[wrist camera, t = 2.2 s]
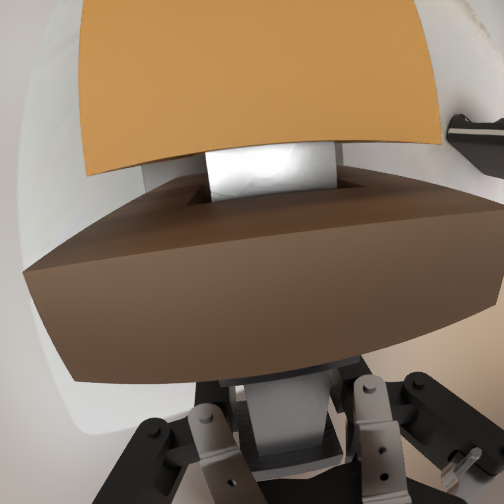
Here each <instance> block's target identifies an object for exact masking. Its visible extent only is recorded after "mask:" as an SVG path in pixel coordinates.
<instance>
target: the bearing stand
mask: <svg viewBox="0 0 504 504" xmlns="http://www.w3.org/2000/svg"><path fill="white" fill-rule="evenodd" d="M335 157H336V171H337V189H328V190H316V191H305V192H295V193H285V194H275V195H266V196H258V197H249V198H241V199H234V200H226V201H219V202H212V197H211V190H210V183H209V175H208V168H207V160H206V155H201V156H194V157H188V158H182V159H177V160H171V161H166V162H159V163H153V164H147V165H141V167H142V173H143V180H144V186H145V192H146V193H145V194H143V195H142V196H140V197H138V198H136V199H134V200H132V201H131V202H129V203H127V204H125V205H124V206H122V207H120V208H118V209H117V210H115V211H113V212H111V213H110V214H108V215H106V216H105V217H103V218H101V219H100V220H98V221H97V222H95V223H93V224H92V225H90V226H88V227H87V228H85V229H84V230H82V231H81V232H79V233H77V234H76V235H74V236H73V237H71V238H70V239H68V240H67V241H65V242H64V243H62V244H61V245H59V246H58V247H56V248H55V249H54V250H52V251H51V252H49V253H48V254H46V255H45V256H44V257H42V258H41V259H40V260H38V261H37V262H35V263H34V264H33V265H31V266H30V267H29V268H27V269H26V270H25V271H23V275H24V278H25V281H26V283H27V286H28V289H29V291H30V294H31V296H32V299H33V301H34V304H35V306H36V308H37V311H38V313H39V315H40V318H41V320H42V322H43V324H44V326H45V328H46V330H47V332H48V334H49V336H50V338H51V340H52V342H53V344H54V346H55V348H56V350H57V352H58V354H59V355H60V357H61V359H62V361H63V362H64V364H65V366H66V368H67V369H68V371H69V373H70V374H71V376H72V378H73V379H74V381H78V382H92V383H111V384H169V383H190V382H204V381H216V380H226V379H235V378H243V377H251V376H258V375H265V374H272V373H278V372H284V371H290V370H295V369H300V368H305V367H310V366H315V365H320V364H325V363H329V362H333V361H338V360H342V359H346V358H350V357H354V356H358V355H361V354H365V353H369V352H372V351H376V350H379V349H382V348H386V347H389V346H392V345H395V344H399V343H402V342H405V341H408V340H411V339H414V338H416V337H419V336H422V335H425V334H428V333H430V332H433V331H436V330H438V329H441V328H443V327H446V326H449V325H451V324H453V323H456V322H458V321H461V320H463V319H465V318H468V317H470V316H472V315H474V314H476V313H479V312H481V311H483V310H485V309H487V308H489V307H491V306H494V305H495V304H496V302H497V298H498V295H499V291H500V287H501V284H502V280H503V276H504V205H503V204H500V203H497V202H494V201H491V200H488V199H485V198H482V197H479V196H475V195H472V194H469V193H465V192H462V191H458V190H455V189H451V188H448V187H444V186H440V185H436V184H432V183H428V182H424V181H420V180H415V179H411V178H406V177H402V176H397V175H392V174H387V173H382V172H377V171H371V170H366V169H360V168H354V167H348V166H343V155H342V143H335Z"/></svg>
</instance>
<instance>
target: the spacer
mask: <svg viewBox="0 0 504 504" xmlns="http://www.w3.org/2000/svg"><path fill="white" fill-rule="evenodd" d="M78 81H79V109H80V124H81V135H82V144H83V153H84V160H85V167H86V174H87V176H91V175H96V174H100V173H105V172H110V171H114V170H119V169H125V168H130V167H135V166H141V165H147V164H153V163H159V162H166V161H171V160H177V159H182V158H188V157H194V156H201V155H206V152H212V151H219V150H226V149H235V148H243V147H252V146H263V145H274V144H288V143H305V142H333V141H334V144H335V143H374V142H385V143H422V144H439V145H442V139H441V126H440V116H439V107H438V99H437V92H436V86H435V80H434V75H433V69H432V64H431V60H430V55H429V51H428V47H427V43H426V39H425V35H424V32H423V28H422V25H421V22H420V19H419V15H418V12H417V9H416V7H415V4H414V1H413V0H84V2H83V9H82V18H81V28H80V41H79V68H78Z"/></svg>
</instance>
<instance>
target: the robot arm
mask: <svg viewBox="0 0 504 504" xmlns="http://www.w3.org/2000/svg"><path fill="white" fill-rule="evenodd" d="M330 397H331V399H332V401H333V404H334V406H335V409H336V411H337V413H342V412H345V414H346V417H347V418H346V459H345V464H342V465H339V466H336V467H333V468H331V469H329V470H327V471H325V472H323V473H321V474H319V475H317V476H315V477H312V478H310V479H273V480H266V481H258V482H256V480H255V478H254V477H253V475H252V473H251V471H250V469H249V467H248V465H247V463H246V461H245V459H244V457H243V455H242V453H241V451H240V449H239V448H238V446H237V444H236V442H235V440H234V437H233V432H236V431H238V419H237V406H236V391H235V386H230V387H220V384H219V381H218V380H216V381H204V382H196V392H195V404H194V408H192V409H191V411H190V412H189V414H188V416H186V417H185V418H183V419H180V420H177V421H173V422H170V423H167V422H166V421H165V420H163V419H161V418H149V419H147V420H145V421H143V422H142V423H141V424H140V425H139V427H138V428H137V430H136V431H135V433H134V435H133V436H132V438H131V440H130V441H129V443H128V445H127V446H126V448H125V450H124V451H123V453H122V455H121V456H120V458H119V460H118V461H117V463H116V464H115V466H114V468H113V469H112V471H111V473H110V474H109V476H108V478H107V479H106V481H105V483H104V484H103V486H102V488H101V489H100V491H99V493H98V494H97V496H96V498H95V499H94V501H93V503H92V504H171V503H172V501H173V498H174V496H175V494H176V491H177V490H178V487H179V485H180V482H181V481H182V478H183V476H184V474H185V471H186V469H187V466H188V465H189V464H191V463H195V462H198V461H200V465H201V468H202V470H203V473H204V476H205V479H206V481H207V484H208V487H209V489H210V492H211V494H212V497H213V499H214V502H215V504H475V503H476V502H477V500H478V499H479V498H480V496H481V495H482V494H483V493H484V492H485V490H486V489H487V488H488V486H489V485H490V484H491V482H492V481H493V480H494V478H495V477H496V476H498V475H499V474H500V473H501V472H502V471H503V470H504V430H503V429H501V428H500V427H499V426H497V425H496V424H495V423H493V422H492V421H491V420H489V419H488V418H486V417H485V416H484V415H482V414H481V413H480V412H478V411H477V410H475V409H474V408H473V407H471V406H470V405H469V404H467V403H466V402H464V401H463V400H462V399H460V398H459V397H458V396H456V395H455V394H454V393H452V392H451V391H450V390H448V389H447V388H445V387H444V386H443V385H441V384H440V383H439V382H437V381H436V380H434V379H433V378H432V377H430V376H429V375H427V374H426V373H423V372H413V373H410V374H409V375H407V376H406V378H405V380H404V381H403V382H402V381H401V382H384V380H383V379H382V378H380V377H379V376H376V375H373V374H372V373H371V371H370V369H369V368H368V366H367V364H366V363H365V361H364V359H363V358H362V356H361V355H360V361H359V362H358V363H355V364H351V365H347V366H343V367H339V368H335V369H332V378H331V386H330ZM400 434H401V435H402V436H403V437H404V438H405V439H406V440H407V441H408V442H410V443H411V444H412V445H413V446H414V447H415V448H416V449H417V450H418V451H419V452H421V453H422V454H423V455H424V456H425V457H426V458H427V459H429V460H430V461H431V462H432V463H433V464H434V465H435V466H436V467H437V468H439V469H440V470H441V471H442V472H441V480H442V482H441V483H442V485H443V486H445V487H446V489H447V493H446V492H443V491H440V490H437V489H435V488H432V487H430V486H427V485H425V484H422V483H419V482H417V481H415V480H413V479H410V478H408V477H406V472H405V463H404V455H403V448H402V442H401V435H400Z"/></svg>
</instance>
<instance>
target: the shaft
mask: <svg viewBox="0 0 504 504" xmlns="http://www.w3.org/2000/svg"><path fill="white" fill-rule="evenodd" d="M206 160H207V168H208V175H209V183H210V190H211V197H212V202H219V201H226V200H234V199H241V198H249V197H258V196H266V195H275V194H285V193H295V192H305V191H316V190H328V189H337V171H336V157H335V144H334V141H333V142H305V143H288V144H274V145H263V146H252V147H243V148H235V149H226V150H219V151H212V152H206ZM359 361H360V355H358V356H354V357H350V358H346V359H342V360H338V361H333V362H329V363H325V364H320V365H315V366H310V367H305V368H300V369H295V370H290V371H284V372H278V373H272V374H265V375H258V376H251V377H243V378H235V379H226V380H218V381H219V384H220V387H230V386H239V385H244V389H245V394H246V399H247V401H239V402H236V403H237V416H238V429H239V441H240V451H241V453H242V455H243V457H244V459H245V461H246V463H247V465H248V467H249V469H250V471H251V473H252V475H253V477H254V478H255V480H264V479H272V478H278V477H284V476H290V475H296V474H301V473H306V472H310V471H315V470H319V469H322V468H327V467H331V466H335V465H338V464H340V462H341V460H342V457H343V451H342V449H341V446H340V443H339V440H338V438H337V435H336V432H335V429H334V427H333V424H332V422H331V419H330V416H329V413H328V411H327V409H328V401H329V394H330V386H331V378H332V369H335V368H339V367H343V366H347V365H351V364H355V363H358V362H359Z"/></svg>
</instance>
